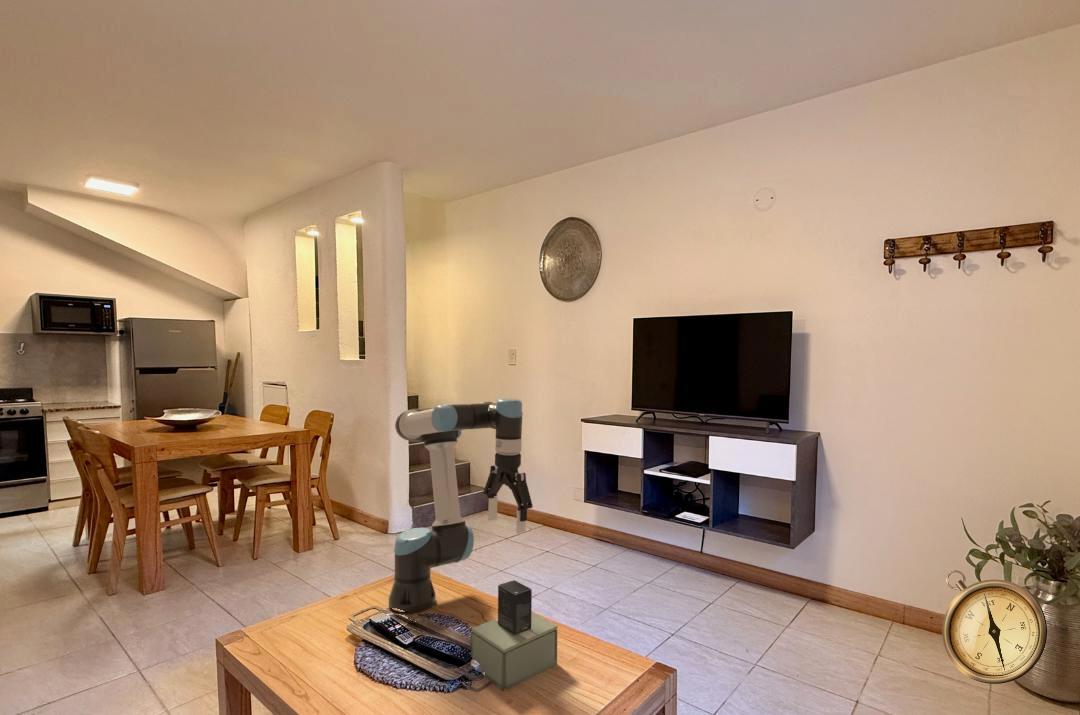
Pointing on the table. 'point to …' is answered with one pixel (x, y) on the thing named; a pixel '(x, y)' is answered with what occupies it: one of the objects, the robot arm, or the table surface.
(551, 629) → the lid
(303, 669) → the table surface
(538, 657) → the carton
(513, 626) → the box
